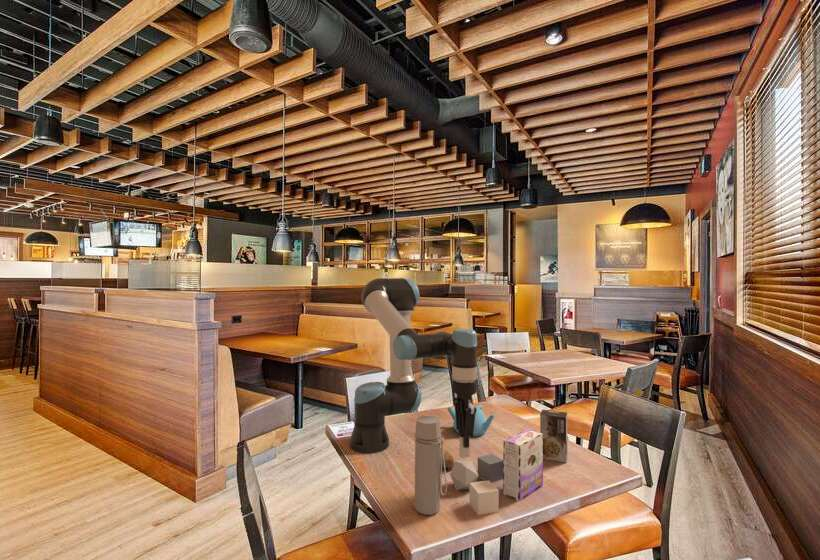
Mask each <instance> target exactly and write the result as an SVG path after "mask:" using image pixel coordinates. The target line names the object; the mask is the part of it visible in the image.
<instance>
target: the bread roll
mask: <svg viewBox="0 0 820 560" xmlns="http://www.w3.org/2000/svg"><path fill="white" fill-rule="evenodd" d="M441 450H442V447H440V474H441ZM443 451H444V460H445V470H446V473H448V472H449V471H450V472H451V470H452V468H453V465H454V463H455V461H454V458H453V455H452V454H451V453H449V451H448V450H446V449H445V448H443ZM443 451H442V474H445V472H444V462H443Z"/></svg>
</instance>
